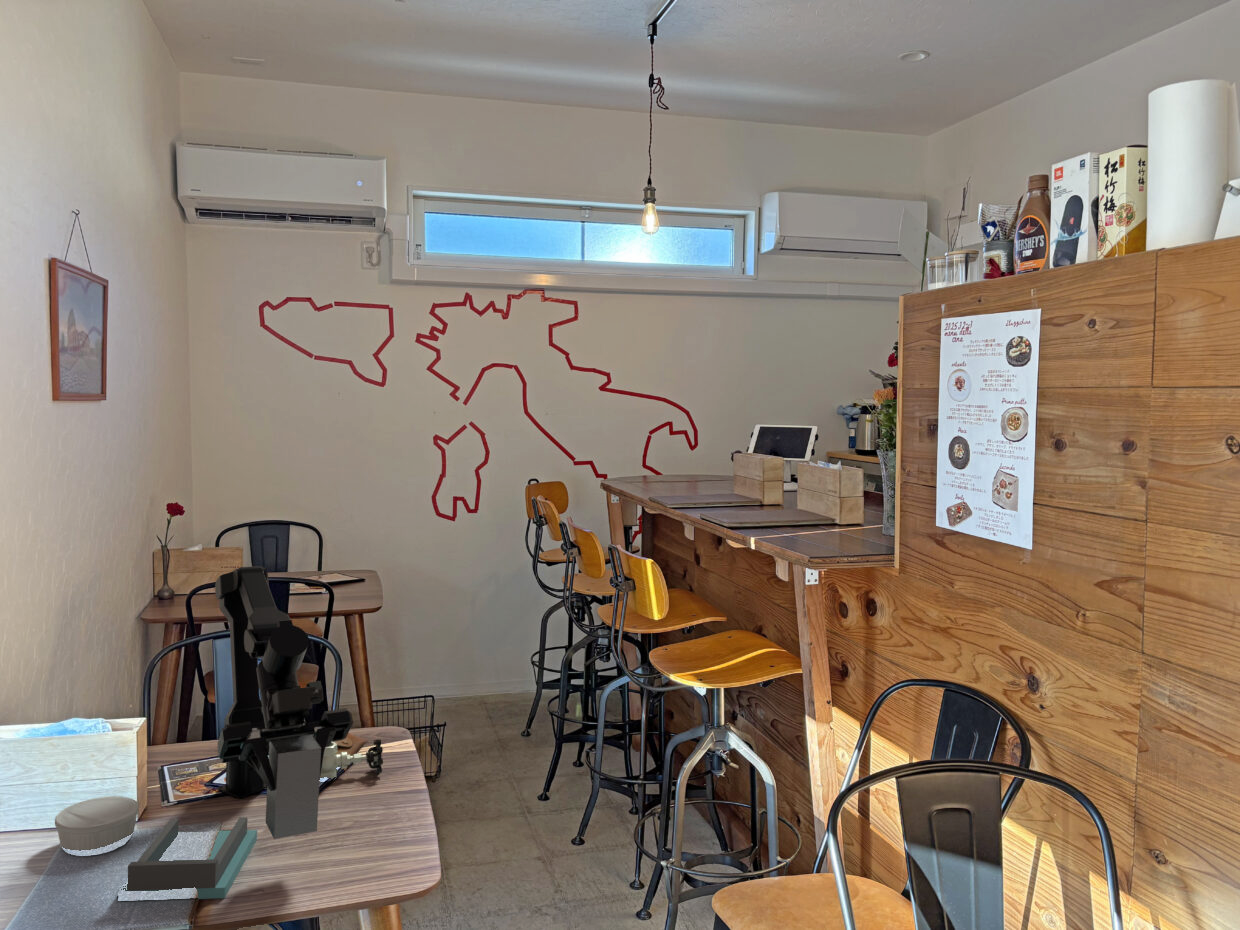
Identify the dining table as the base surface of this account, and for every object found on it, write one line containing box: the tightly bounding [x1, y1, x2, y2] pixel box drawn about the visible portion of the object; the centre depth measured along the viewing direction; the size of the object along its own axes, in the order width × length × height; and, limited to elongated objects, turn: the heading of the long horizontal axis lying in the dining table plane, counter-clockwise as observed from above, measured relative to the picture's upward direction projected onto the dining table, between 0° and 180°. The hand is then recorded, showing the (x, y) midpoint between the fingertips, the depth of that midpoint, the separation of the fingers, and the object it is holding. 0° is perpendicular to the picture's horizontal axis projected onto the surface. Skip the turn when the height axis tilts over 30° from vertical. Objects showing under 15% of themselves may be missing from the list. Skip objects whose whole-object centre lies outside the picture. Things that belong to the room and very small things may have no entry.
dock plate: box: [117, 816, 258, 900], centre depth 133 cm, size 18×14×5 cm
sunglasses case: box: [334, 732, 368, 771], centre depth 179 cm, size 18×7×7 cm, turn 3°
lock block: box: [265, 735, 321, 840], centre depth 133 cm, size 6×6×12 cm
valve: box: [320, 739, 384, 779], centre depth 169 cm, size 7×7×12 cm
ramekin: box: [54, 795, 140, 851], centre depth 139 cm, size 11×11×5 cm
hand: (295, 785), depth 131 cm, fingers closed on lock block, 6 cm apart
